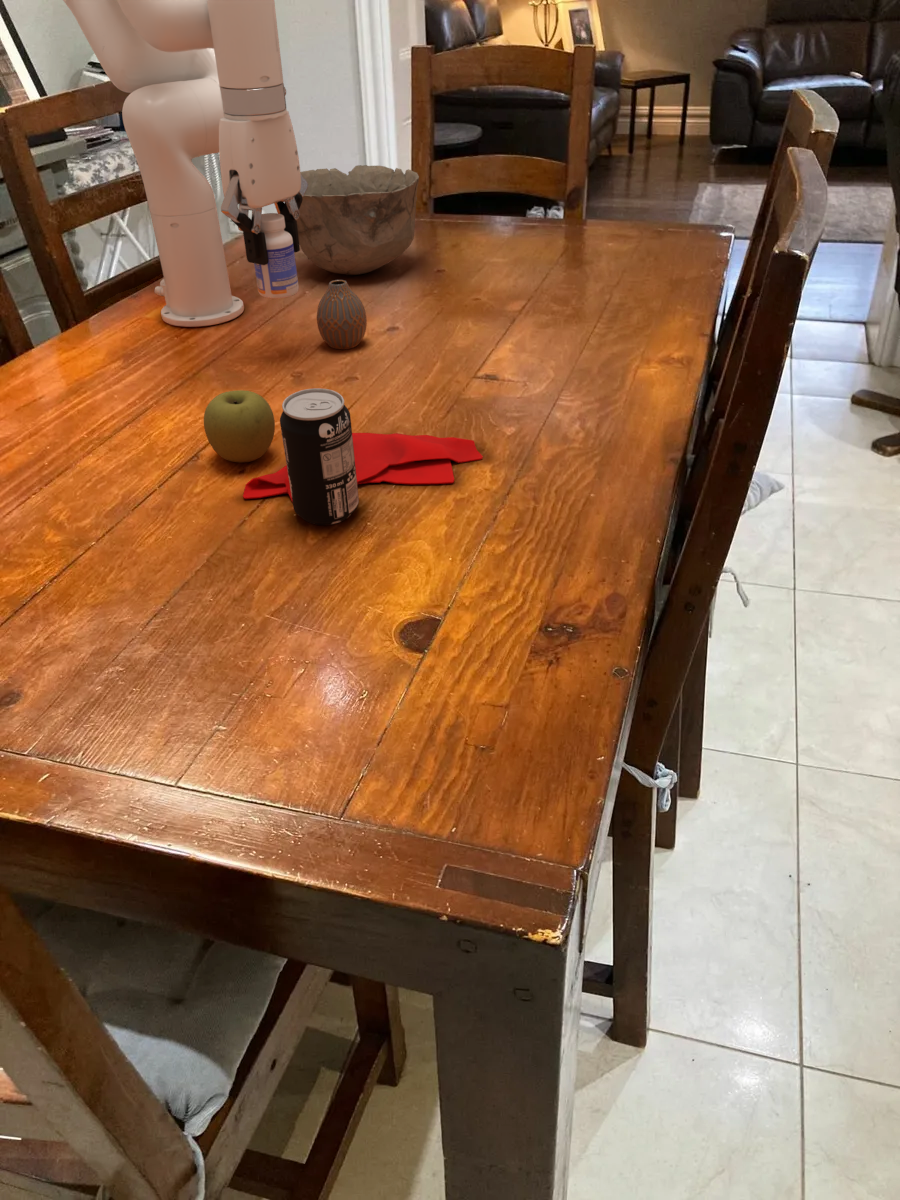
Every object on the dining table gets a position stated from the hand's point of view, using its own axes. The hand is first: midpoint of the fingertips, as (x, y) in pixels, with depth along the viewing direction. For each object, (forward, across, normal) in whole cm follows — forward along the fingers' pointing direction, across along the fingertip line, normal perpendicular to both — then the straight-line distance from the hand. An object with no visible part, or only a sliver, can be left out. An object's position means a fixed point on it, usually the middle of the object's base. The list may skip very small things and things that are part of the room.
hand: (273, 255), depth 122 cm
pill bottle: (+5, 0, 0) cm, 5 cm away
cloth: (+13, +21, +30) cm, 39 cm away
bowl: (+14, -36, -15) cm, 41 cm away
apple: (+13, +26, +17) cm, 34 cm away
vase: (+14, -7, +5) cm, 16 cm away
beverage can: (+12, +31, +33) cm, 47 cm away
